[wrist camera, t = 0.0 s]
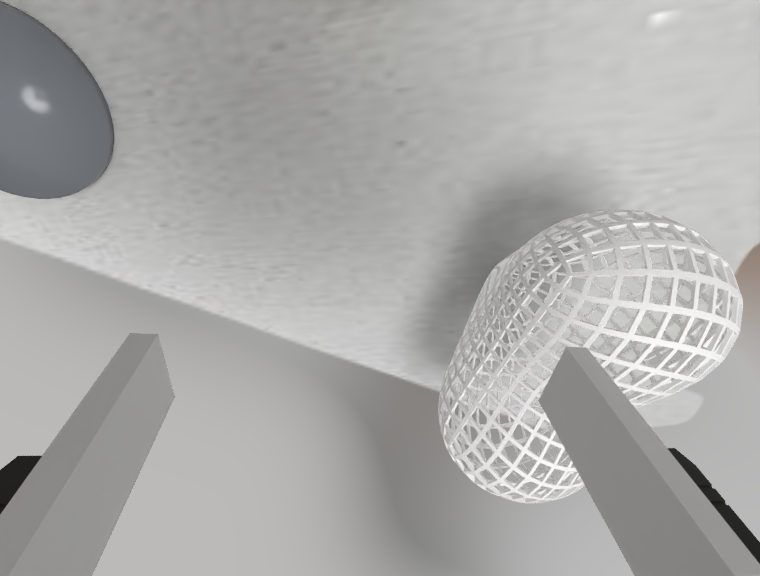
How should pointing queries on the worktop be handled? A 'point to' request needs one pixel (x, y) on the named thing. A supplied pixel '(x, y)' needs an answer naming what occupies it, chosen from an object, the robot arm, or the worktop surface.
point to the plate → (48, 113)
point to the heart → (582, 338)
